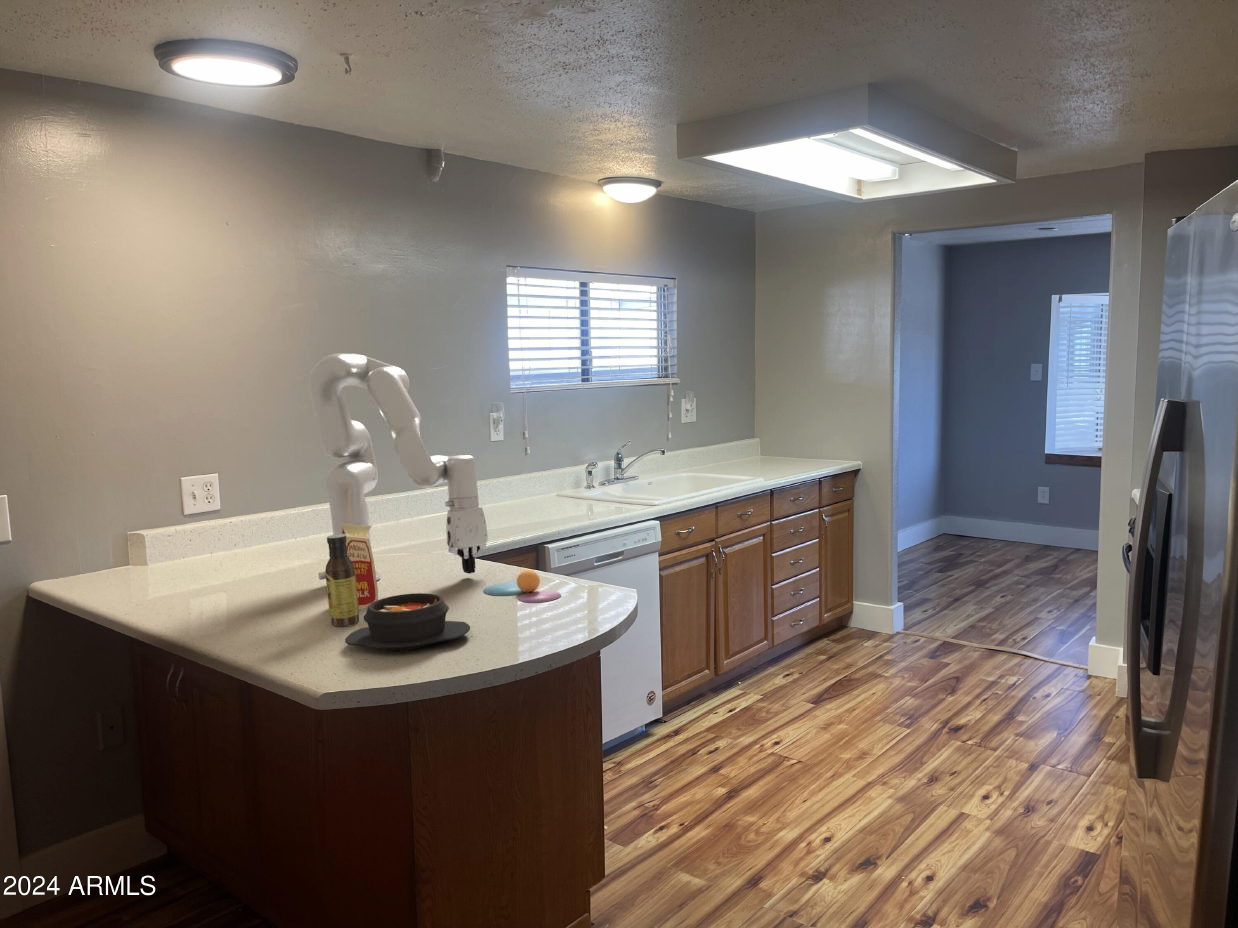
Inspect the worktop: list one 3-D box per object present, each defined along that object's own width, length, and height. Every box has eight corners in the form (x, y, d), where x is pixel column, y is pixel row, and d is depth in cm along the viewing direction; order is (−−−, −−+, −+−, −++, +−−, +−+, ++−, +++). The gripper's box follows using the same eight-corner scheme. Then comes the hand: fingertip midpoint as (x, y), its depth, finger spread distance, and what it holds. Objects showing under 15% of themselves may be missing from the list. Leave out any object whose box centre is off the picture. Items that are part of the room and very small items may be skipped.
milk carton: (344, 611, 215) (336, 526, 213) (337, 603, 223) (329, 521, 221) (383, 604, 219) (376, 521, 217) (374, 596, 227) (367, 516, 225)
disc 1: (502, 598, 218) (502, 597, 218) (473, 590, 228) (473, 589, 228) (547, 587, 226) (547, 586, 226) (517, 579, 236) (517, 579, 236)
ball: (517, 567, 220) (509, 581, 223) (529, 585, 218) (520, 599, 221) (535, 562, 224) (527, 576, 227) (547, 580, 221) (538, 594, 225)
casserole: (476, 625, 197) (473, 587, 196) (463, 653, 178) (460, 610, 178) (359, 632, 197) (355, 594, 196) (334, 660, 178) (330, 618, 177)
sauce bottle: (335, 620, 207) (327, 533, 205) (363, 618, 207) (355, 531, 205) (326, 628, 201) (317, 538, 198) (355, 627, 201) (346, 537, 198)
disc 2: (534, 604, 211) (534, 604, 211) (510, 597, 218) (510, 597, 218) (569, 595, 217) (569, 595, 217) (544, 589, 225) (544, 588, 225)
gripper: (445, 508, 232) (451, 580, 234) (496, 500, 241) (501, 568, 243) (431, 506, 237) (436, 575, 239) (480, 498, 247) (485, 565, 249)
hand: (469, 572), depth 241 cm, fingers closed
